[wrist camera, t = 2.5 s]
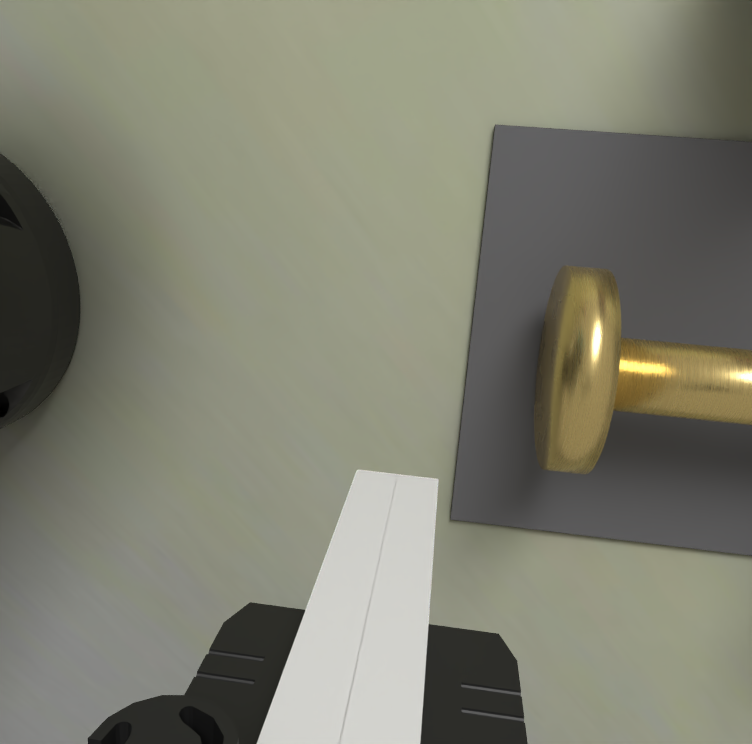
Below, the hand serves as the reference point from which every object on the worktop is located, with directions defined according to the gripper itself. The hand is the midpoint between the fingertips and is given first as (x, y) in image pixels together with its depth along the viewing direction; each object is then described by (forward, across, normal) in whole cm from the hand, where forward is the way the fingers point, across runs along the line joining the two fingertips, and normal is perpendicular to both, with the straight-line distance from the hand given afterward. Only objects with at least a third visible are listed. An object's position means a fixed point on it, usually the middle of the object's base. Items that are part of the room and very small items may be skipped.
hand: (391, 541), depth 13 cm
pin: (+18, +14, 0) cm, 23 cm away
